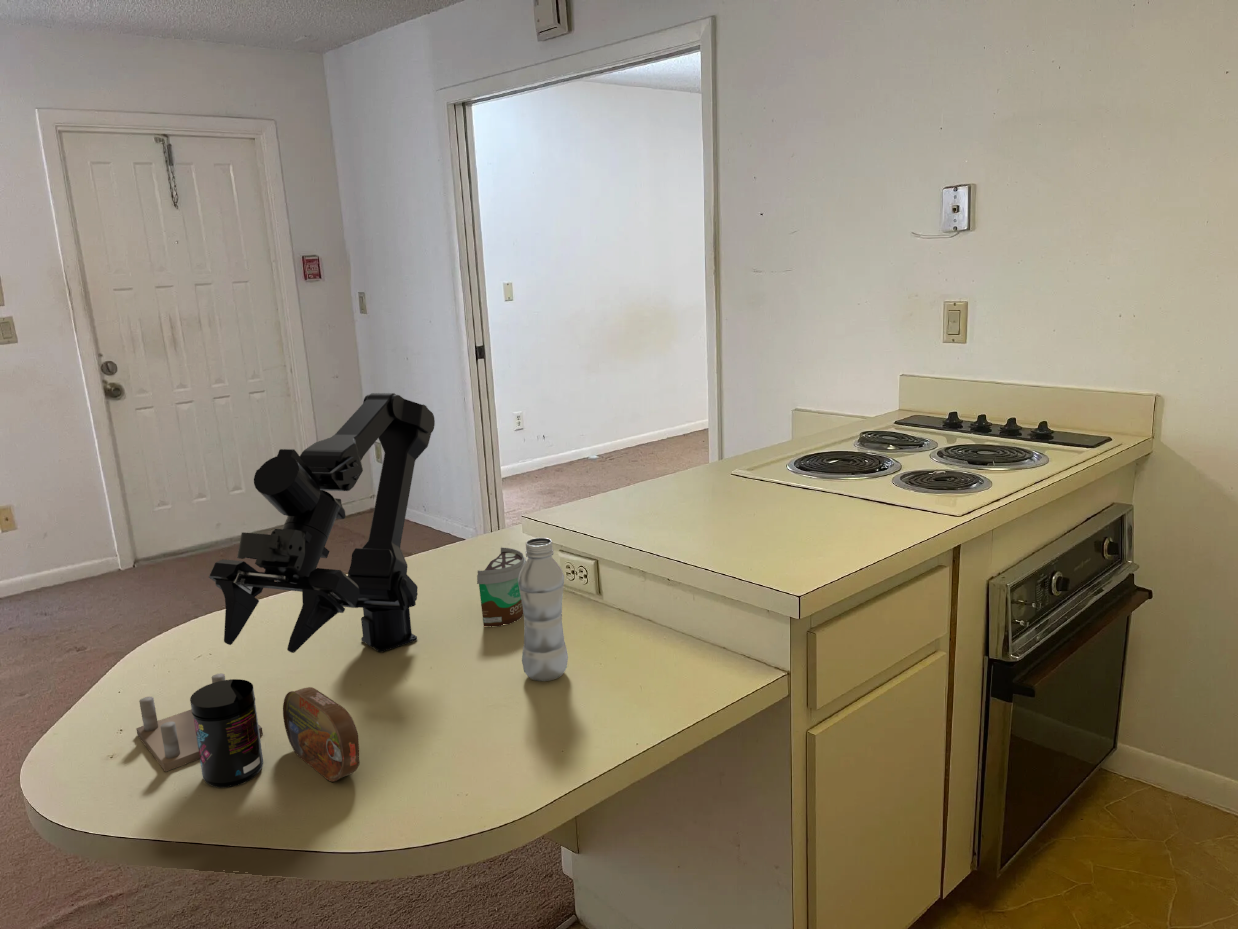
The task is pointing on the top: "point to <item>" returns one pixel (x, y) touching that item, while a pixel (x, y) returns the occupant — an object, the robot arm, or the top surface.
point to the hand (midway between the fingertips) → (258, 647)
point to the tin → (321, 733)
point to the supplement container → (227, 732)
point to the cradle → (171, 734)
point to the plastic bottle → (542, 612)
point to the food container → (501, 588)
